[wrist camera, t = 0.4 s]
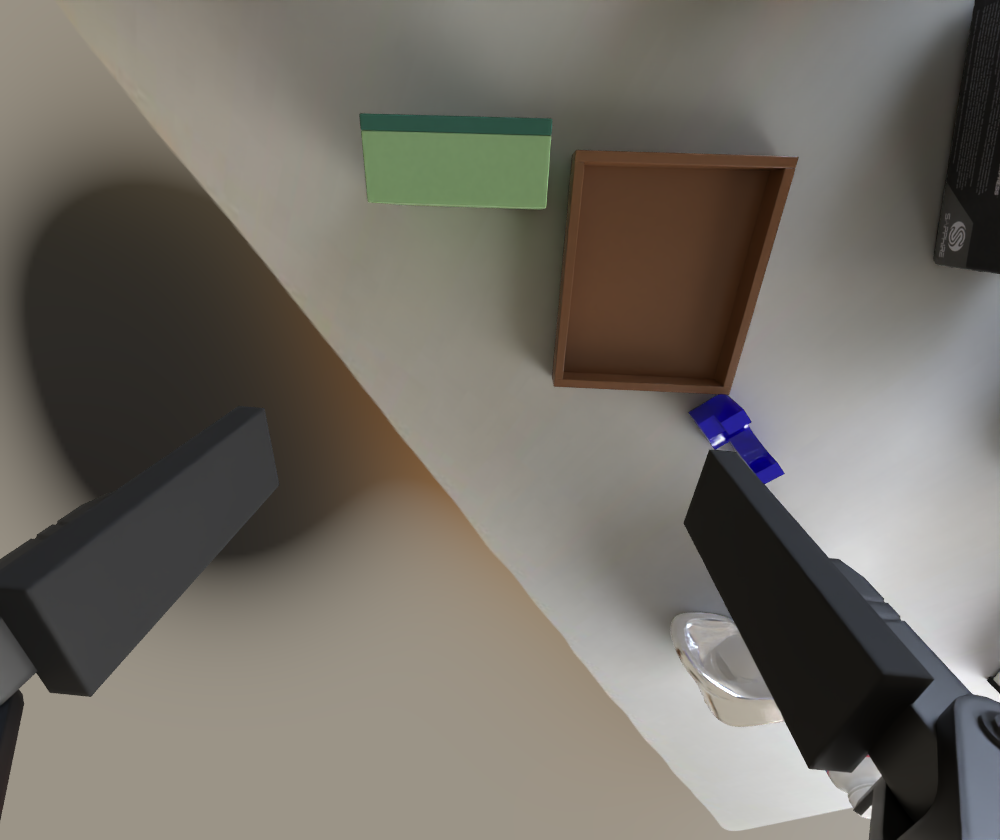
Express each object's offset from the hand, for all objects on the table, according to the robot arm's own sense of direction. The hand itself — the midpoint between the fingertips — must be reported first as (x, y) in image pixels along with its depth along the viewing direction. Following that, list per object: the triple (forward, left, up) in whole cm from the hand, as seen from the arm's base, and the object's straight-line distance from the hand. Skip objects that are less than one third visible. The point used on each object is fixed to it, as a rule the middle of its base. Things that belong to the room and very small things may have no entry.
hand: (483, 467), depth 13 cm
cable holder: (+11, +21, -26) cm, 35 cm away
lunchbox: (-10, -3, -26) cm, 28 cm away
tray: (-2, +12, -26) cm, 28 cm away
